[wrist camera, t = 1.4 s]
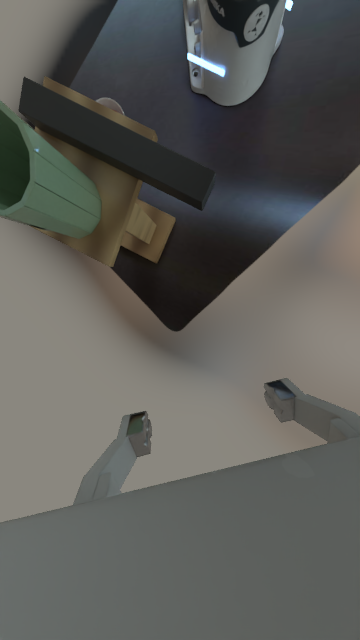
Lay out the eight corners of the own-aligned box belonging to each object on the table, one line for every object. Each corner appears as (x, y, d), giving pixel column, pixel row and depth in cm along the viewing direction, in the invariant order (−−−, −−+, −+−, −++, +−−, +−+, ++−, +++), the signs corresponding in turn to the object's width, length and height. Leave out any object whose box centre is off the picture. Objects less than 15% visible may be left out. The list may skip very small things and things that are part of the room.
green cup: (35, 186, 22) (-71, 129, 14) (85, 157, 21) (1, 73, 12) (62, 247, 24) (-19, 229, 15) (111, 224, 22) (52, 191, 14)
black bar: (38, 129, 21) (18, 110, 18) (44, 99, 20) (23, 75, 18) (202, 211, 21) (201, 202, 18) (214, 184, 20) (215, 171, 17)
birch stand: (113, 249, 49) (18, 220, 24) (134, 189, 44) (44, 75, 19) (157, 271, 49) (108, 266, 24) (182, 213, 44) (155, 130, 19)
